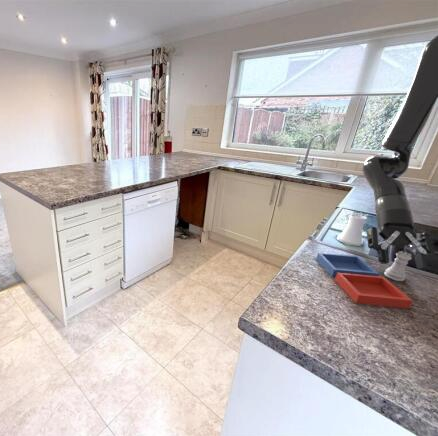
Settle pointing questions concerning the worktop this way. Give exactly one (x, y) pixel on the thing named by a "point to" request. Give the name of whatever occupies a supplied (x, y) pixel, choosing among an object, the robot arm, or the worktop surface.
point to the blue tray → (345, 264)
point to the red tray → (372, 290)
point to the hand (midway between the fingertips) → (403, 266)
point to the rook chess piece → (398, 267)
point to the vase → (353, 230)
